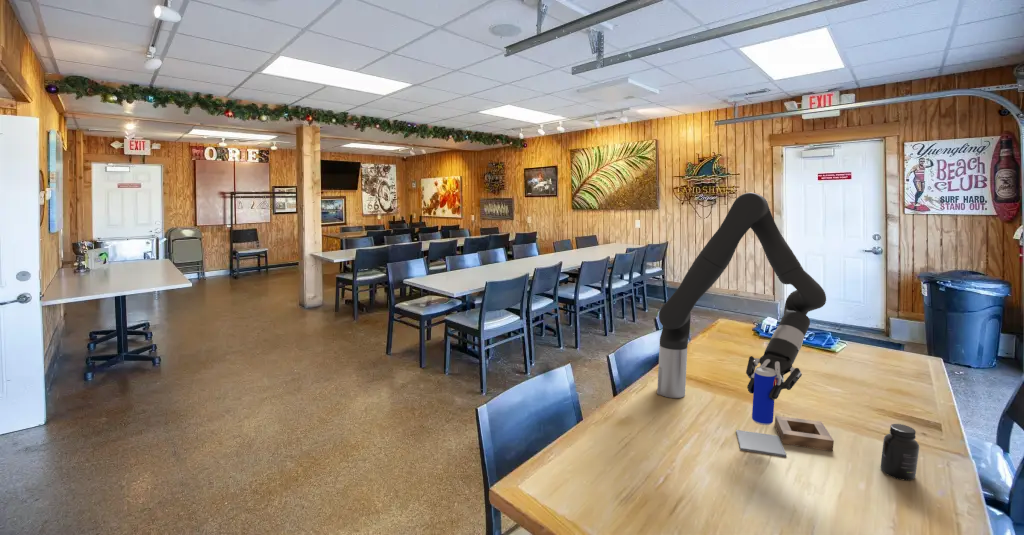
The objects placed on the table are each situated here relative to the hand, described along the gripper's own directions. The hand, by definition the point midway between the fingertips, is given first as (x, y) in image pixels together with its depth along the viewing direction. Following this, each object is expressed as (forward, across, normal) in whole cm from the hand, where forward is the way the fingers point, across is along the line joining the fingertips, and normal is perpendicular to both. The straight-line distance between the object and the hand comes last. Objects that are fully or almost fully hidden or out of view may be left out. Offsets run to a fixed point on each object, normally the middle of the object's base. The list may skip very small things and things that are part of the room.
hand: (760, 395), depth 130 cm
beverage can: (+5, 0, +7) cm, 9 cm away
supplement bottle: (0, +27, +21) cm, 34 cm away
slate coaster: (+9, 0, +12) cm, 15 cm away
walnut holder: (0, +5, +21) cm, 22 cm away
